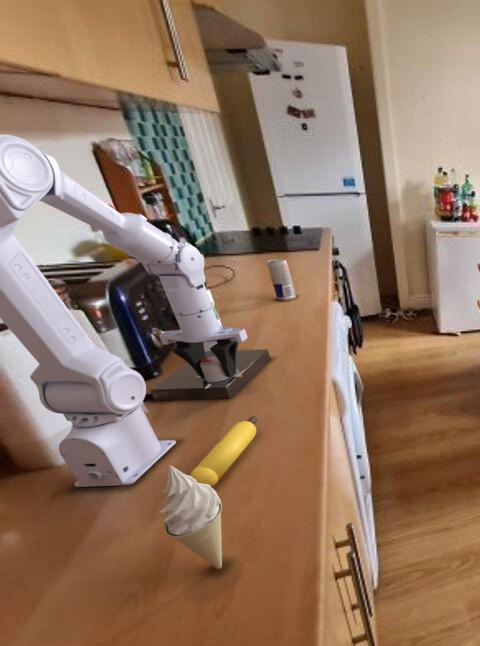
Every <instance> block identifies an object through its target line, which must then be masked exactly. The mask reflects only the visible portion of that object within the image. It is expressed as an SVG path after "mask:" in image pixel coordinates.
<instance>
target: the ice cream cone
mask: <svg viewBox="0 0 480 646" xmlns="http://www.w3.org/2000/svg"><path fill="white" fill-rule="evenodd" d="M167 472H168V473H167V481H166V486H165V487H164V489H163V493H168V494H167V496H166V498H165V499H164V500H162V502H161V504H165V505H166V506H165V507H164V508H163V509H161V510H159V512H158V514H166V515H167V516H166V518H165V519H163V521H162V523H163V524H164V525H163V532H164V533H165V534H166V535H167V536H169V537H172V538H173V539H175V540H177V542H178V543H180V544H182V545H183V546H184V547H186V548H187V549H189V550H190V551H191V552H193V553H194V554H196V555H197V556H199V558H201V559H203V560H204V561H206V562H207V563H208V564H210V565H211V566H212V567H214V568H215V569H216V570H220V569H222V567H223V552H222V551H223V549H222V548H223V547H222V546H223V545H222V544H223V543H222V541H223V539H222V509H223V504H222V501H221V499H220V496H219V495H218V493H217V491H216V490H215V489H214V488H213V486H212V487H211V486H210V485H208V484H201V483H197V482H196V479H194V478H192V476H190V475H188V474H186V473H185V472H182V471H181V470H180V469H177V468H176V467H174V466H173V465H171V464H168V470H167Z"/></svg>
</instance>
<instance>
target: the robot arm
mask: <svg viewBox="0 0 480 646" xmlns="http://www.w3.org/2000/svg"><path fill="white" fill-rule="evenodd" d="M39 202H42V203H44V204H46V205H48V206H50V207H52V208H55V209H56V210H59V211H60V212H62V213H65V214H67V215H68V216H70V217H72V218H74V219H76V220H78V221H80V222H82V223H84V224H87V225H89V226H91V227H92V228H95V229H97V230H98V231H101V232H102V235H103V239H104V240H105V242H106V243H107V244H108V245H110V246H112V247H114V248H116V249H117V250H119V251H121V252H123V253H125V254H126V255H128V256H130V257H132V258H134V259H136V260H137V261H138V262H140V263H141V264H142V266H143V268H144V269H145V271H146V272H147V273H148V274H149V275H153V276H155V277H158V278H159V280H160V283H161V285H162V288H163V290H164V293H165V295H166V297H167V300H168V302H169V305H170V307H171V309H172V312H173V314H174V316H175V319H176V321H177V324H178V326H179V329H175V330H166V331H164V332H162V333H160V334H159V335H158V337H159V339H160V341H161V344H162V345H163V346H164V345H165V346H166V345H171V344H176V345H175V347H174V348H173V349H172V352H173V354H174V355H176V356H178V357H179V358H181V359H182V360H184V362H186V363H188V364H189V365H190V366H191V367H192V368H193V369H194V370H195V371H196V372H197V373H198V375H199V376H200V377H201V378H205V377H204V374H203V372H202V369H201V367H200V363H201V360H202V359H207V358H206V355H205V350H204V342H217V344H215V345H214V346H212V347H211V348H210V350H211V351H212V352H213V353H214V355H215V356H216V357H217V359H218V360H219V362H220V364H221V366H222V368H223V371H224V373H225V375H226V376H227V377H232V376H233V375H234V374H235V373H236V351H237V350H238V346H239V343H243V342H245V341H246V340H247V339H249V338H248V334H247V331H246V328H237V327H229V326H224V327H222V326H220V324H219V323H218V320H217V318H216V315H215V312H214V309H213V307H212V304H211V301H210V298H209V296H208V293H207V290H206V289H207V287H206V285H205V283H206V279H207V277H206V275H205V272H204V269H205V257H204V254H201V252H200V251H199V249H198V248H197V247H195V246H193V245H192V244H191V243H189V242H186V241H177V240H176V239H175V238H173V237H172V235H171V234H169V233H168V232H164V231H162V230H161V229H160V228H157V227H156V226H155V225H153V224H152V223H150V222H149V221H147V220H148V218H147V217H145V216H144V215H143V214H141V213H134V212H121V213H120V212H119V211H118V210H116V208H114V207H112V206H110V205H109V204H108V203H106V202H105V201H104V200H103V199H101V198H99V197H98V196H96V195H95V194H93V193H92V192H91V191H89V190H88V189H87V188H85V187H84V186H83V185H81V184H79V183H78V182H77V181H75V180H74V179H73V178H72V177H70V176H68V175H67V174H66V173H65V172H63V171H61V168H60V166H59V164H58V161H57V160H56V159H55V158H54V157H53V156H51V155H48V154H46V153H45V152H43V151H40V149H39V148H37V147H36V146H35V145H34V144H33V143H31V142H29V141H27V140H26V139H24V138H22V137H19V136H16V135H12V134H5V133H3V134H0V320H1V322H3V323H4V325H5V326H6V327H7V328H8V329H9V331H10V332H12V334H13V335H14V336H15V337H16V338H17V340H18V341H19V342H20V343H21V344H22V346H23V347H25V348H24V349H26V350H27V351H28V353H29V354H30V355H31V356H32V357H33V358H34V360H35V361H36V362H37V363H38V365H37V366H36V367H35V369H34V370H33V371H32V372H31V374H30V376H29V378H30V380H31V381H32V382H33V383H34V385H35V387H36V388H37V390H38V397H39V400H40V402H41V404H42V406H43V407H44V408H45V409H47V410H48V411H50V412H51V413H54V414H62V415H63V417H64V418H65V420H66V421H67V422H71V424H72V426H71V429H70V431H69V433H68V434H67V436H65V437H64V439H62V441H61V442H60V443H59V445H58V452H59V455H60V456H61V458H62V459H63V461H64V462H65V464H66V465H67V467H68V469H69V470H70V472H71V474H72V475H73V476H74V478H75V479H76V482H74V483H73V484H74V487H75V488H86V487H109V486H110V487H111V486H131V485H133V484H134V483H135V482H136V481H137V480H139V479H140V478H141V476H143V475H144V474H145V473H146V472H147V471H148V470H149V469H150V468H151V467H152V466H154V465H155V463H156V462H157V461H159V460H160V459H162V458H163V456H164V455H165V454H167V452H168V451H169V450H171V448H172V447H173V446H174V445H175V444H176V443H177V442H176V440H175V439H165V440H159V439H158V437H157V436H156V434H155V433H156V432H154V429H153V428H152V425H151V423H150V422H149V419H148V417H147V415H146V414H145V412H144V410H143V408H142V406H143V405H144V400H145V397H146V394H147V393H146V392H147V385H146V382H145V379H144V377H143V376H142V375H141V373H140V372H138V371H136V370H134V369H133V368H130V367H129V366H128V365H127V364H126V363H125V362H124V360H123V359H122V358H121V357H119V356H118V355H115V354H113V353H111V352H109V351H107V350H104V349H102V348H100V347H98V346H96V345H95V343H94V342H93V341H92V340H91V338H90V337H89V336H88V334H87V333H86V331H85V330H84V328H83V327H82V326H81V325H80V323H79V322H78V320H77V319H76V317H74V314H72V312H71V311H70V309H68V306H66V304H65V303H64V301H63V300H62V299H61V297H60V295H58V293H57V292H56V290H55V289H54V288H53V286H52V285H51V283H50V282H49V281H48V280H47V278H46V277H45V275H44V274H43V273H42V271H41V270H40V269H39V267H38V266H37V264H36V263H35V261H34V260H33V259H32V258H31V257H30V255H29V254H28V252H27V251H26V250H25V248H24V247H23V246H22V244H21V243H20V242H19V240H18V239H17V237H16V236H15V235H14V229H15V227H16V225H17V224H18V222H19V220H21V219H22V217H24V216H25V215H26V214H27V213H28V212H29V211H30V210H31V209H32V208H33V207H34V206H35V205H37V203H39Z"/></svg>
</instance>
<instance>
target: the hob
mask: <svg viewBox="0 0 480 646" xmlns="http://www.w3.org/2000/svg"><path fill="white" fill-rule="evenodd" d="M205 355H206V358H210V357H215V355H214V353H213V352H212V351H205ZM270 361H271V355H270V353H269V350H268V349H267V348H263V349H262V348H261V349H237V351H236V373H235V374H234V375H233V376H232V377H229V378H227V379H225V380H223V381H219V382H207V381H206V379H205V378H201V377H200V376H199V375H198V373H197V372H196V371H195V370H194V369H193V368H192V367H191V366H190V365H189V364H188V363H187V362H186V363H184V364H183V365H182V366H180V367H179V368H177V369H176V370H175V371H174V372H172V373H171V374H169V375H168V376H167V377H165V378H164V379H162V380H161V381H160V382H158V383H156V384H155V385H154V386H153V387H151V388H150V389H149V391H150V394H151V396H152V398H153V400H154V402H159V401H160V402H161V401H162V402H163V401H187V400H190V401H192V400H216V399H217V400H218V399H219V400H220V399H231V398H232V397H233V396H234V395H236V393H237V392H238V391H239V390H241V389H242V387H244V386H245V385H246V384H247V383H248V382H249V381H250V380H251V379H252V378H253V377H254V376H255V375H256V374H257V373H258V372H260V371H261V369H262V368H263V367H264V366H265V365H266V364H268V363H269V362H270Z"/></svg>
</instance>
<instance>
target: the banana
mask: <svg viewBox="0 0 480 646" xmlns="http://www.w3.org/2000/svg"><path fill="white" fill-rule="evenodd" d="M257 422H258V417H257V416H255V415H252V416H250V417H249V418H248V419H247V420H242V421H239V422H237V423H235V424H234V425H233V426H232V428H230V429H229V431H228V432H227V433H226V434H225V435H224V436H223V437H222V438H221V439H220V440H219V441H218V442H217V444H216V445H215V446H214V447H213V448H212V449H211V450H210V451H209V452H208V453H207V455H205V457H204V458H203V459H202V460H200V462H199V463H198V464H197V465H196V467H194V469H193V470H192V471H191V473H190V475H189V476H192V478H194V479H196V482H197V483H201V484H208V485H210V486H211V487H212V488H213V487H214V486H215V485H216V484H217V483H218V482H219V481H220V480H221V478H222V477H223V476H224V474H225V473H226V472H227V471H228V470H229V468H230V467H231V466H232V465H233V464H234V463H235V461H236V460H237V458H238V457H240V455H241V454H242V453H243V451H244V450H245V449H246V448H247V447H248V445H249V444H250V443H251V442H252V440H254V438H255V436H256V434H257V428H256V426H255V425H256V423H257Z"/></svg>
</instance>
